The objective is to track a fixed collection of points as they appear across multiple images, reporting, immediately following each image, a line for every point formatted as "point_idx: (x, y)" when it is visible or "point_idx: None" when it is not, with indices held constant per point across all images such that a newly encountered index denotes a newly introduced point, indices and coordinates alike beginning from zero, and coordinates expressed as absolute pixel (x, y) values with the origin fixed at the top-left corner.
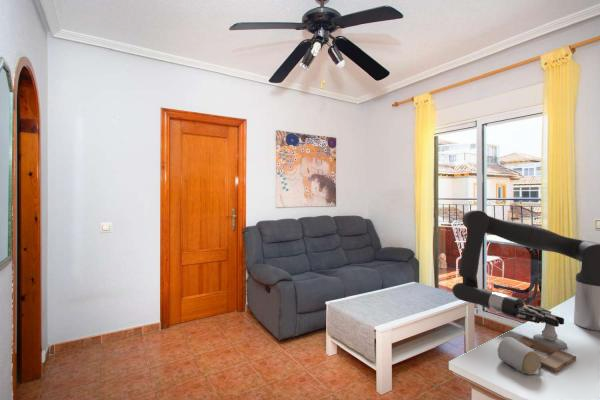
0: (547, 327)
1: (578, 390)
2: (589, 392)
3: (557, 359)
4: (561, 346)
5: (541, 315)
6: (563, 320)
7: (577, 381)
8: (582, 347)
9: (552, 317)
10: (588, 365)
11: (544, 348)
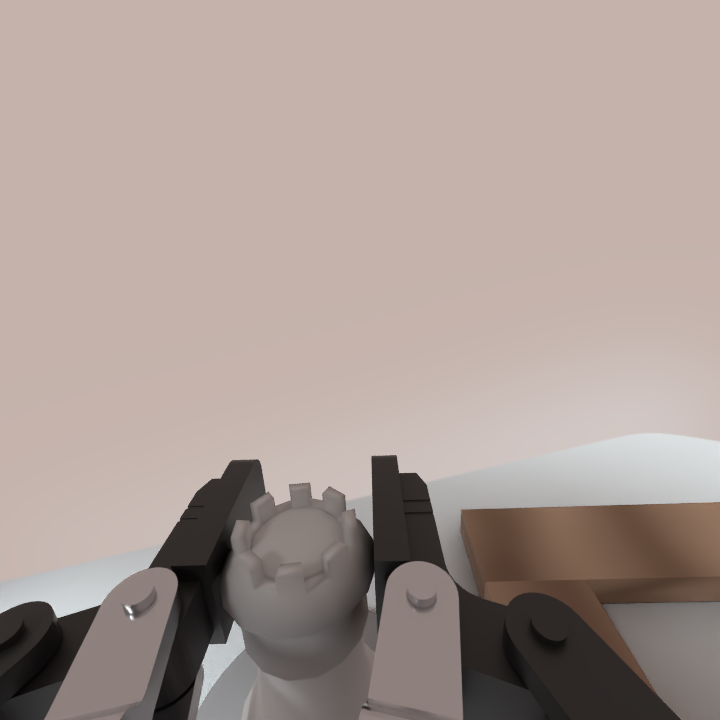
0: (364, 665)
1: (704, 449)
2: (660, 436)
3: (642, 532)
4: (370, 626)
5: (436, 599)
6: (257, 470)
7: (651, 467)
8: None
9: (339, 500)
10: (446, 493)
11: (617, 654)
